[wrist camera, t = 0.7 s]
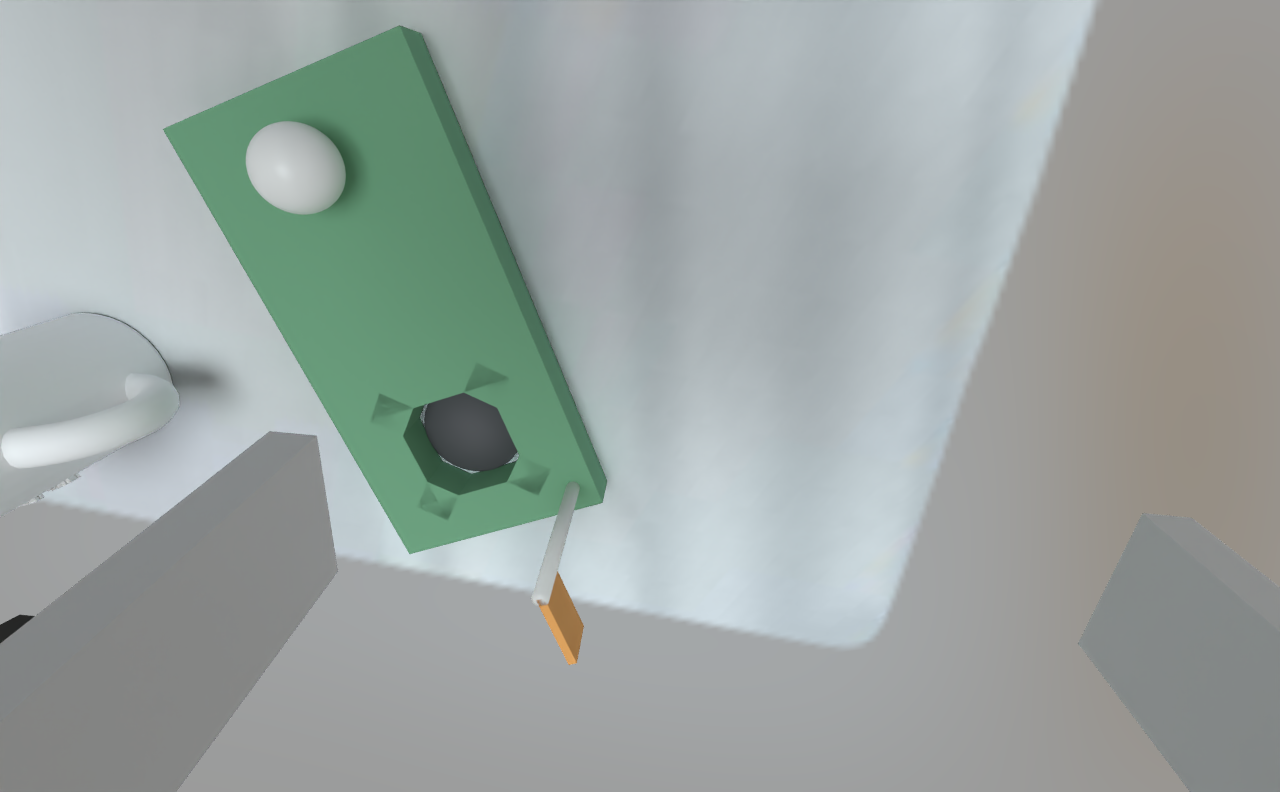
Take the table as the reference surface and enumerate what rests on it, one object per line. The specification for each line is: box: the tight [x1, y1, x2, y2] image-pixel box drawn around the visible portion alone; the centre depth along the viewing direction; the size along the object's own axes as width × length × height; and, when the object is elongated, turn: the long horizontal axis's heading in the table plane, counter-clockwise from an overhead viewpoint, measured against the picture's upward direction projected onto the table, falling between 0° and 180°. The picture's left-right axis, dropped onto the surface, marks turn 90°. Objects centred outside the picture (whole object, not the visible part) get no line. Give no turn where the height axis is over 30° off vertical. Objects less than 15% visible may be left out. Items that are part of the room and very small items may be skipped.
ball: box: [246, 121, 346, 215], centre depth 29 cm, size 4×4×4 cm
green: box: [163, 26, 607, 665], centre depth 31 cm, size 28×13×12 cm, turn 19°
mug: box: [0, 313, 179, 517], centre depth 33 cm, size 8×12×12 cm
